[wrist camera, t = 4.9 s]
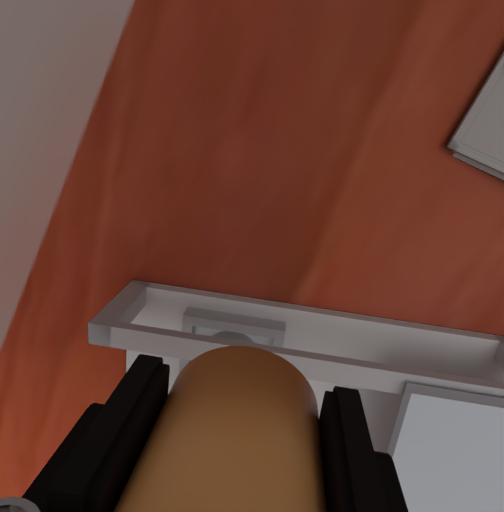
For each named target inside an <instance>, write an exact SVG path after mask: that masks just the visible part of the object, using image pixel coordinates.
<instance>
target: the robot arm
mask: <svg viewBox="0 0 504 512" xmlns="http://www.w3.org/2000/svg"><path fill="white" fill-rule="evenodd" d="M169 374H170V366H169V365H168V364H163V358H162V357H156V356H150V355H144V354H139V355H138V356H137V358H136V359H135V361H134V362H133V364H132V365H131V367H130V368H129V370H128V371H127V373H126V374H125V375H124V377H123V378H122V380H121V381H120V383H119V384H118V386H117V387H116V389H115V390H114V392H113V393H112V394H111V396H110V397H109V399H108V400H107V402H106V403H105V405H104V404H98V403H93V404H91V405H90V406H89V407H88V408H87V409H86V411H85V412H84V414H83V415H82V416H81V418H80V419H79V420H78V422H77V423H76V424H75V426H74V427H73V428H72V430H71V431H70V433H69V434H68V435H67V437H66V438H65V439H64V441H63V442H62V443H61V445H60V446H59V447H58V449H57V450H56V452H55V453H54V454H53V456H52V457H51V458H50V460H49V461H48V462H47V464H46V465H45V466H44V468H43V469H42V471H41V472H40V473H39V475H38V476H37V477H36V479H35V480H34V481H33V483H32V484H31V485H30V487H29V488H28V490H27V491H26V492H25V494H24V495H23V496H22V498H18V497H7V498H0V512H113V511H114V509H115V507H116V505H117V503H118V501H119V499H120V496H121V494H122V492H123V490H124V488H125V486H126V484H127V482H128V479H129V477H130V475H131V473H132V471H133V469H134V467H135V464H136V462H137V460H138V458H139V456H140V454H141V452H142V450H143V447H144V445H145V443H146V441H147V439H148V437H149V435H150V433H151V430H152V428H153V426H154V424H155V422H156V420H157V418H158V415H159V413H160V411H161V409H162V407H163V405H164V403H165V401H166V398H167V396H168V388H169ZM319 427H320V438H321V450H322V461H323V473H324V484H325V496H326V508H327V512H408V508H407V505H406V502H405V498H404V495H403V492H402V488H401V485H400V482H399V478H398V475H397V472H396V468H395V465H394V462H393V459H392V457H391V456H390V455H389V453H383V452H377V451H374V449H373V445H372V441H371V437H370V433H369V429H368V425H367V421H366V417H365V413H364V409H363V405H362V401H361V397H360V393H359V390H357V389H351V388H345V387H339V386H335V387H334V389H333V392H332V391H325V393H324V397H323V402H322V407H321V412H320V416H319Z"/></svg>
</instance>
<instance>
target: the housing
mask: <svg viewBox="0 0 504 512" xmlns="http://www.w3.org/2000/svg"><path fill="white" fill-rule="evenodd" d="M222 331H229V332H236V333H242V334H245V335H246V336H248V337H249V338H251V339H252V340H253V341H254V342H255V343H251V342H244V341H238V340H232V339H225V338H219V337H213V335H215V334H216V333H219V332H222ZM88 344H94V345H100V346H106V347H112V348H119V349H125V350H127V356H126V373H127V371H128V370H129V368H130V367H131V365H132V364H133V362H134V361H135V359H136V358H137V356H138V355H139V354H144V355H150V356H156V357H162V358H163V364H168V365H169V366H170V374H169V388H168V394H169V392H170V390H171V388H172V386H173V384H174V382H175V380H176V378H177V376H178V374H179V373H180V372H181V370H182V369H183V368H184V367H185V366H186V365H187V364H188V363H189V362H190V361H192V360H193V359H194V358H196V357H197V356H199V355H201V354H203V353H205V352H207V351H210V350H212V349H216V348H220V347H226V346H250V347H256V348H260V349H264V350H267V351H270V352H272V353H274V354H276V355H279V356H281V357H282V358H284V359H285V360H287V361H289V362H290V363H291V364H292V365H294V366H295V367H296V368H297V369H298V370H299V371H300V372H301V373H302V374H303V375H304V376H305V378H306V379H307V381H308V382H309V384H310V385H311V387H312V389H313V391H314V394H315V397H316V400H317V405H318V414H319V416H320V412H321V407H322V402H323V397H324V393H325V391H332V392H333V389H334V387H335V386H339V387H345V388H351V389H357V390H359V393H360V397H361V401H362V405H363V409H364V413H365V417H366V421H367V425H368V429H369V433H370V437H371V441H372V445H373V449H374V451H377V452H383V453H387V451H388V448H389V444H390V441H391V437H392V434H393V430H394V427H395V423H396V420H397V416H398V413H399V409H400V406H401V402H402V399H403V395H404V392H405V388H406V385H407V383H411V384H418V385H424V386H430V387H436V388H442V389H449V390H455V391H461V392H467V393H474V394H480V395H486V396H492V397H498V398H504V336H500V335H493V334H486V333H480V332H473V331H467V330H460V329H454V328H447V327H440V326H434V325H427V324H421V323H414V322H408V321H401V320H394V319H388V318H381V317H375V316H368V315H361V314H355V313H348V312H342V311H335V310H329V309H322V308H315V307H309V306H302V305H296V304H289V303H283V302H276V301H269V300H263V299H256V298H250V297H243V296H236V295H230V294H223V293H217V292H210V291H204V290H197V289H190V288H184V287H177V286H171V285H164V284H158V283H151V282H144V281H138V280H132V281H131V282H130V283H129V284H128V285H127V286H126V287H125V288H124V289H123V290H122V291H121V292H120V293H119V294H118V295H117V296H116V297H114V298H113V299H112V300H111V301H110V302H109V303H108V304H107V305H106V306H105V307H104V308H103V309H102V310H101V311H100V312H99V313H98V314H97V315H96V316H95V317H94V318H93V319H92V320H91V321H90V322H89V323H88Z"/></svg>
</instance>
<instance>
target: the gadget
mask: <svg viewBox="0 0 504 512" xmlns="http://www.w3.org/2000/svg"><path fill="white" fill-rule="evenodd" d="M445 148H447V149H449V150H451V151H453V152H455V153H454V154H453V157H455V158H457V159H459V160H462V161H464V162H466V163H468V164H470V165H472V166H474V167H476V168H478V169H480V170H482V171H484V172H486V173H488V174H490V175H492V176H495V177H497V178H499V179H501V180H503V181H504V51H503V53H502V55H501V56H500V58H499V60H498V61H497V63H496V65H495V66H494V68H493V69H492V71H491V73H490V74H489V76H488V78H487V79H486V81H485V83H484V84H483V86H482V88H481V89H480V91H479V93H478V94H477V96H476V98H475V99H474V101H473V103H472V104H471V106H470V108H469V109H468V111H467V113H466V114H465V116H464V118H463V119H462V121H461V123H460V124H459V126H458V128H457V129H456V131H455V133H454V134H453V136H452V137H451V139H450V141H449V142H448V144H447V146H446V147H445Z"/></svg>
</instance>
